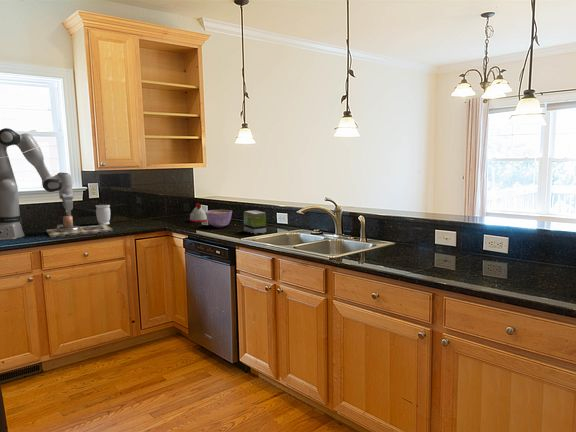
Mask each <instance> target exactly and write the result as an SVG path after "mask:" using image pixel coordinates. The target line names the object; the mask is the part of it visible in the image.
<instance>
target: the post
mask: <svg viewBox="0 0 576 432" xmlns="http://www.w3.org/2000/svg"><path fill="white" fill-rule="evenodd" d="M60 226H64V224H62V223H60V224H56V229H57V232H74V231H79V230H80V227H81V226H79V225H73V228H60Z"/></svg>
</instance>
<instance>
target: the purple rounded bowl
mask: <svg viewBox="0 0 576 432" xmlns="http://www.w3.org/2000/svg"><path fill="white" fill-rule="evenodd" d="M205 212H206V216H207V222H208V224H209V225H210V226H213V227H214V228H225V227H226V226H228V225H229V224H230V222H231V219H232V214H233V210H230V209H229V210H228V209H211V210H207V211H205Z"/></svg>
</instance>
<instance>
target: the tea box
mask: <svg viewBox="0 0 576 432" xmlns="http://www.w3.org/2000/svg"><path fill="white" fill-rule="evenodd" d="M243 231H244V232H247V233H249V232H250V233H249V234H252V233H254V234H253V235H258V234H257V233H262V234H266V233H267V213H266V212H265V211H259V210H256V209H255V210H245V211H243ZM265 232H266V233H265Z"/></svg>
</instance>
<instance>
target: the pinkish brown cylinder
mask: <svg viewBox="0 0 576 432" xmlns="http://www.w3.org/2000/svg"><path fill="white" fill-rule="evenodd" d="M73 219H74V218H73V215H71V216H68V215H64V216H63V215H62V221H63V226H60V228H73V226H74V221H73Z"/></svg>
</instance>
